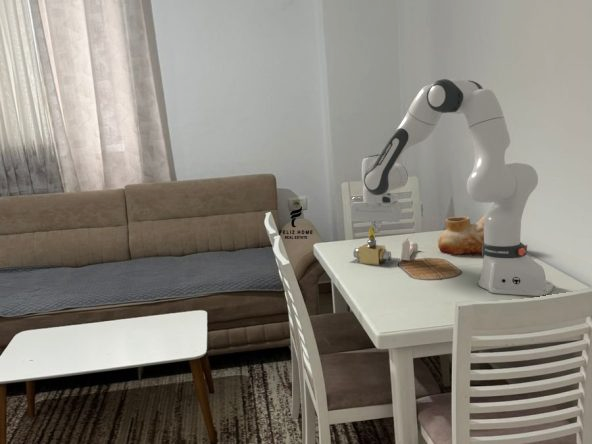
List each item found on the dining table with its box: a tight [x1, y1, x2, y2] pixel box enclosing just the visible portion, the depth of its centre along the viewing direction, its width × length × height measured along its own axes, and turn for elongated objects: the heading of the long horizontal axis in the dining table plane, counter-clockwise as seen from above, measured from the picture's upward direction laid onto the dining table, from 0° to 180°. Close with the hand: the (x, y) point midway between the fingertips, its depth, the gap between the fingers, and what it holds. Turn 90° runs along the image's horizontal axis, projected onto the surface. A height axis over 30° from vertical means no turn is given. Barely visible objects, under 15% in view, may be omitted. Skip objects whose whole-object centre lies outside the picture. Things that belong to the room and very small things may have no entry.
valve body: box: [353, 243, 392, 266], centre depth 233 cm, size 14×6×6 cm, turn 57°
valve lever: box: [367, 226, 377, 247], centre depth 235 cm, size 11×3×6 cm, turn 173°
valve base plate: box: [349, 257, 401, 268], centre depth 235 cm, size 16×12×1 cm
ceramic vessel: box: [437, 213, 488, 257], centre depth 240 cm, size 14×26×15 cm, turn 82°
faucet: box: [400, 235, 419, 262], centre depth 240 cm, size 4×18×10 cm, turn 159°
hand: (376, 232), depth 238 cm, fingers closed, pressing on valve lever
